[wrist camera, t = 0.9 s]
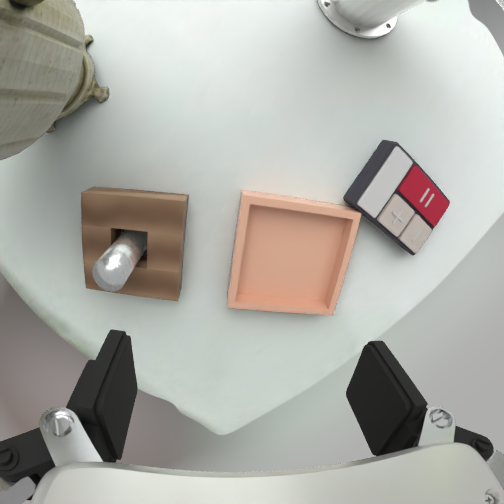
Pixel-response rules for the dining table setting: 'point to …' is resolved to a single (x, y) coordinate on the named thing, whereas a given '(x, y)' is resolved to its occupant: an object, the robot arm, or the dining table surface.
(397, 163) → the calculator
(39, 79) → the samovar
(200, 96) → the dining table surface
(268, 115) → the dining table surface
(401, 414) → the robot arm
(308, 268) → the tray
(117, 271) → the pin
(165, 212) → the wooden square hole block
